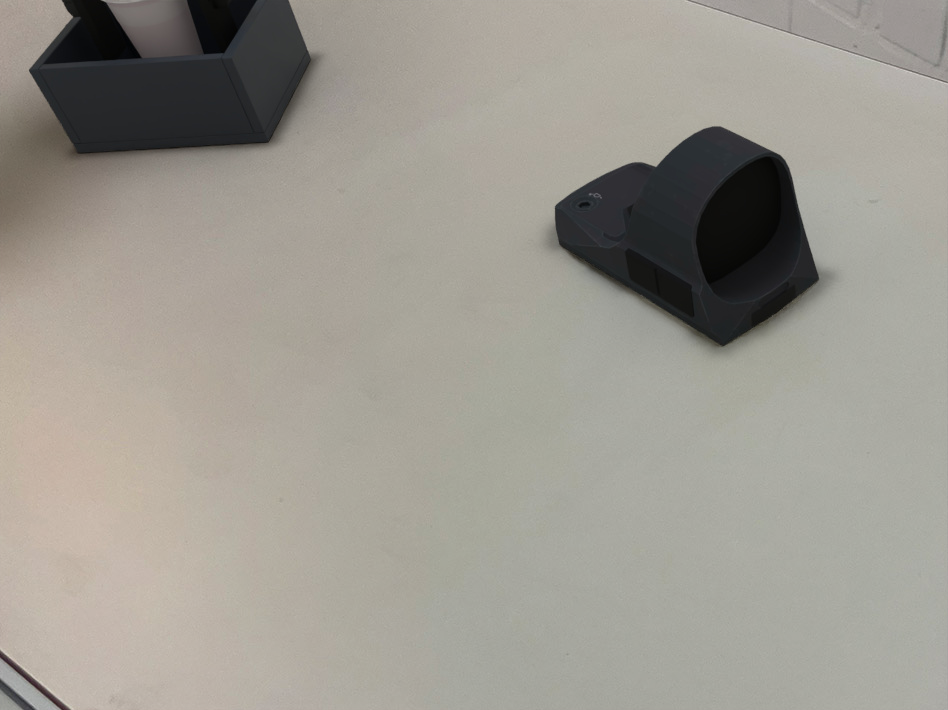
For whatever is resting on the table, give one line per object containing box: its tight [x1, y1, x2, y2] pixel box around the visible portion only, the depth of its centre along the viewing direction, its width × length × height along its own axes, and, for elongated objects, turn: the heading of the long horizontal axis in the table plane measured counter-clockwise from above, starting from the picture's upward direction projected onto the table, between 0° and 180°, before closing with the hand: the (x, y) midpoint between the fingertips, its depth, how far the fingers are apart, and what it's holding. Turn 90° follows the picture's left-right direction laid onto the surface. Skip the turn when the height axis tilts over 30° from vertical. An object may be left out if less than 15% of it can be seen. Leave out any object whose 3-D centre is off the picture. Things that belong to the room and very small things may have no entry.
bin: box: [28, 0, 312, 154], centre depth 87 cm, size 16×14×7 cm
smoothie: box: [102, 0, 204, 58], centre depth 83 cm, size 6×6×14 cm
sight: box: [554, 125, 820, 347], centre depth 68 cm, size 9×18×10 cm, turn 45°
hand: (174, 51), depth 86 cm, fingers open, 9 cm apart
